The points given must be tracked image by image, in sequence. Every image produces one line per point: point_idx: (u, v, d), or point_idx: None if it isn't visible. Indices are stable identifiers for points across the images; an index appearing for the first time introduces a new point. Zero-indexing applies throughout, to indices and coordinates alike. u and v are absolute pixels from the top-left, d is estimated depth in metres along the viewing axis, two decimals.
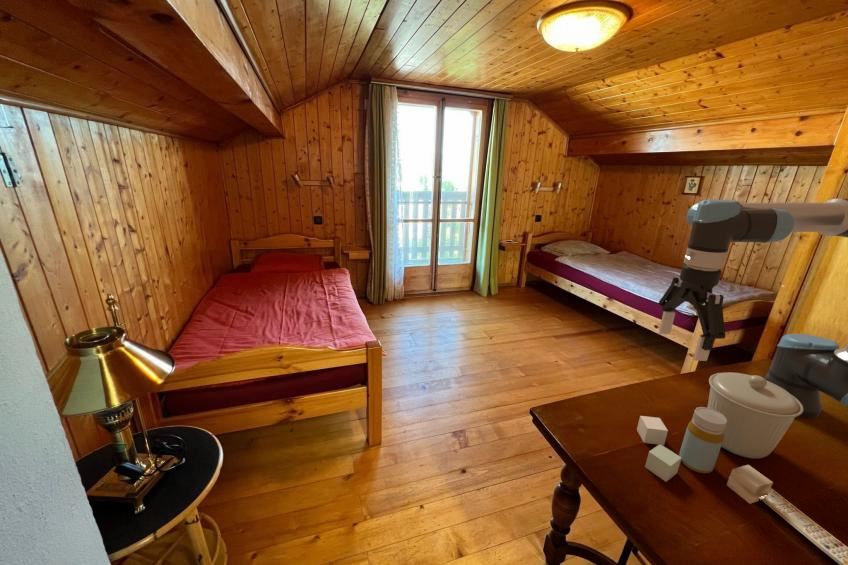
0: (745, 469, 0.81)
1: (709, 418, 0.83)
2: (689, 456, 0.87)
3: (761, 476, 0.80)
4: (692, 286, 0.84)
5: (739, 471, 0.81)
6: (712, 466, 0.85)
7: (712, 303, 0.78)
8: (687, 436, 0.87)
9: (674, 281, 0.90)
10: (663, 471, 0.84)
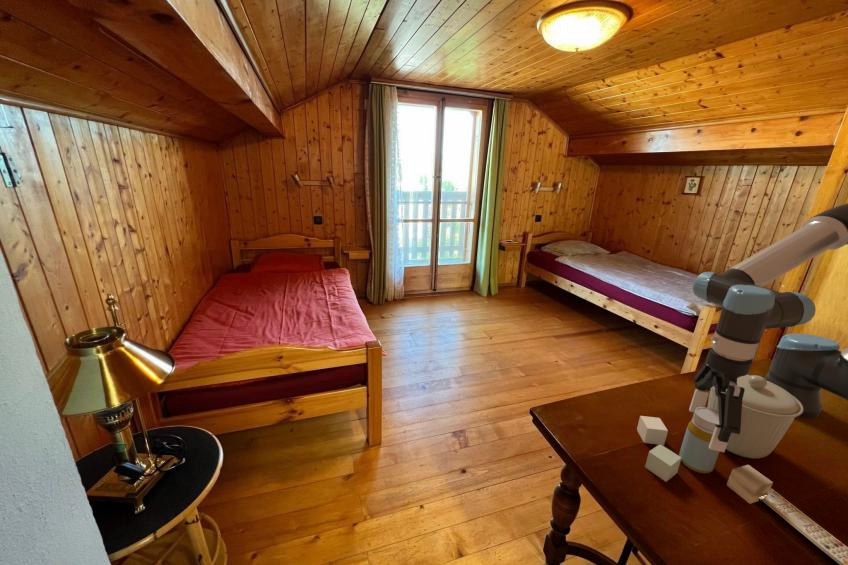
0: (745, 469, 0.81)
1: (709, 418, 0.83)
2: (689, 456, 0.87)
3: (761, 476, 0.80)
4: (718, 371, 0.80)
5: (739, 471, 0.81)
6: (712, 466, 0.85)
7: (730, 394, 0.75)
8: (687, 436, 0.87)
9: None
10: (663, 471, 0.84)
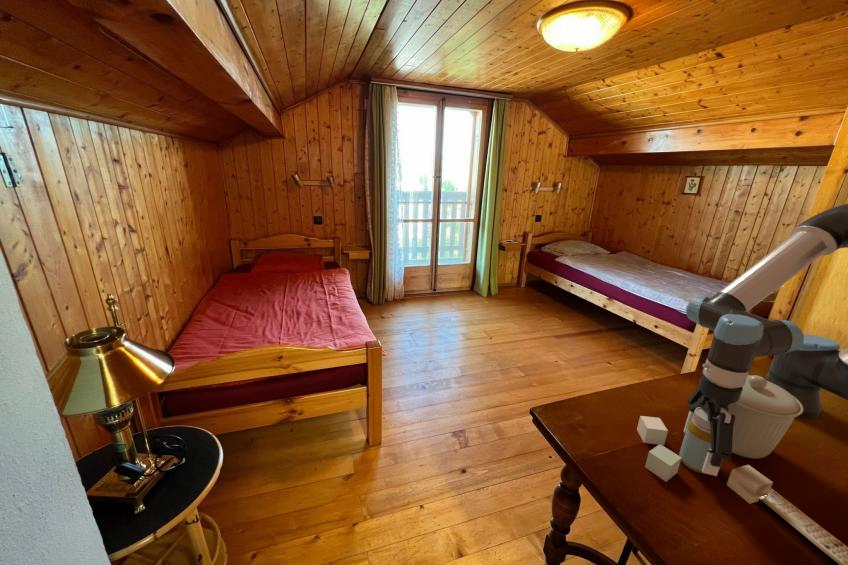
0: (745, 469, 0.81)
1: None
2: (689, 456, 0.87)
3: (761, 476, 0.80)
4: None
5: (739, 471, 0.81)
6: None
7: (721, 421, 0.77)
8: (687, 436, 0.87)
9: None
10: (663, 471, 0.84)
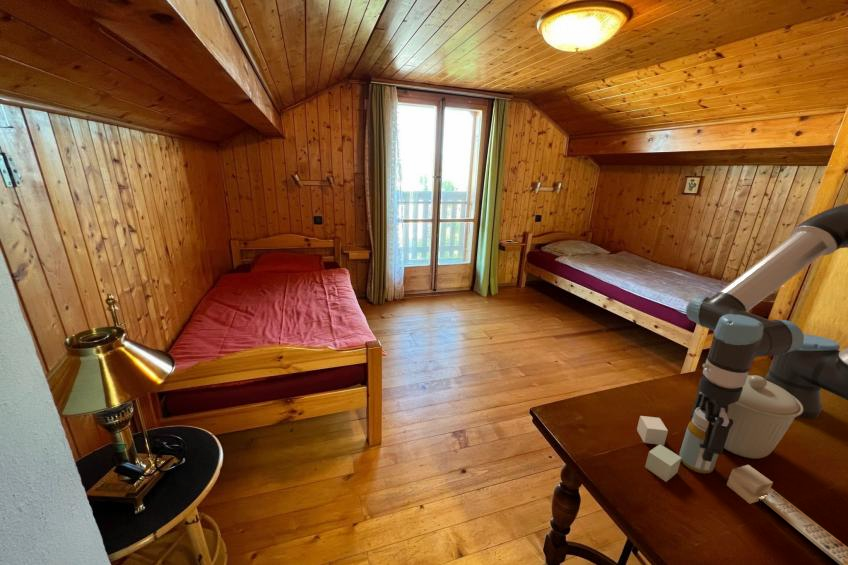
0: (745, 469, 0.81)
1: None
2: (689, 456, 0.87)
3: (761, 476, 0.80)
4: None
5: (739, 471, 0.81)
6: (712, 466, 0.85)
7: (718, 425, 0.78)
8: (687, 436, 0.87)
9: (699, 389, 0.89)
10: (663, 471, 0.84)
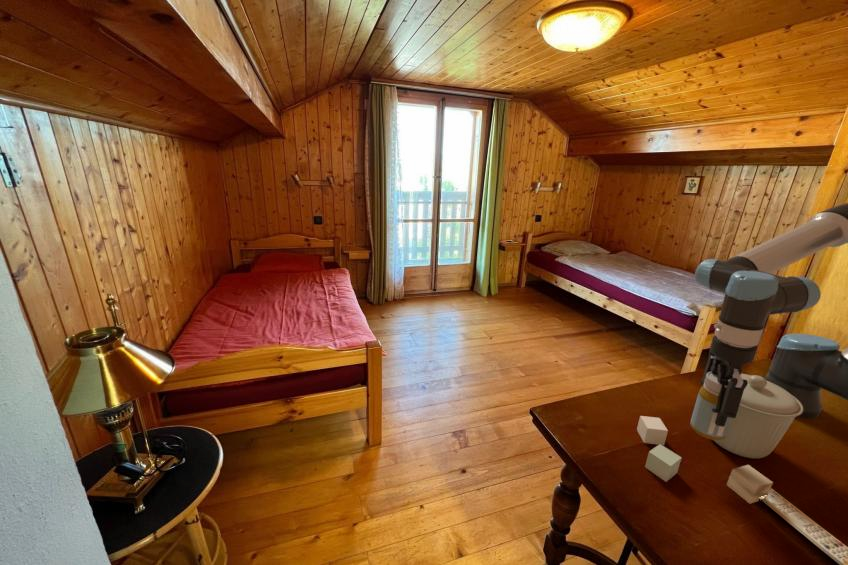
0: (745, 469, 0.81)
1: None
2: (701, 422, 0.83)
3: (761, 476, 0.80)
4: (723, 359, 0.79)
5: (739, 471, 0.81)
6: (725, 432, 0.82)
7: (731, 386, 0.75)
8: (698, 402, 0.84)
9: (710, 354, 0.85)
10: (663, 471, 0.84)
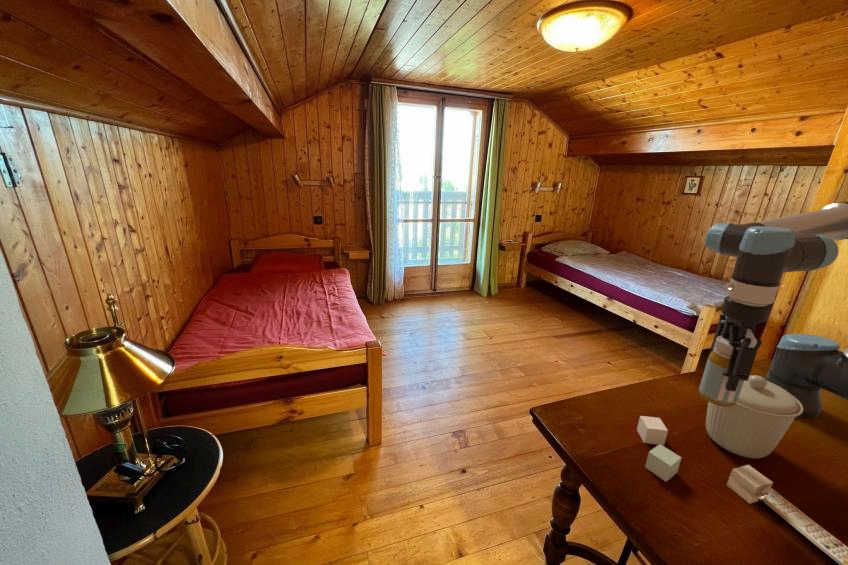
0: (745, 469, 0.81)
1: None
2: (710, 388, 0.80)
3: (761, 476, 0.80)
4: (735, 320, 0.76)
5: (739, 471, 0.81)
6: (736, 398, 0.79)
7: (744, 346, 0.72)
8: (708, 367, 0.81)
9: (720, 318, 0.82)
10: (663, 471, 0.84)
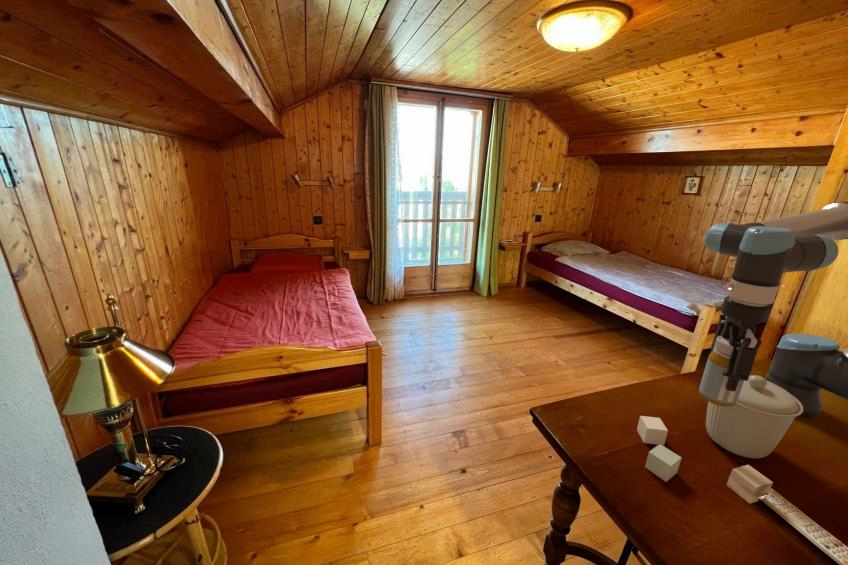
0: (745, 469, 0.81)
1: None
2: (710, 388, 0.80)
3: (761, 476, 0.80)
4: (735, 320, 0.76)
5: (739, 471, 0.81)
6: (736, 398, 0.79)
7: (744, 346, 0.72)
8: (708, 367, 0.81)
9: (720, 318, 0.82)
10: (663, 471, 0.84)
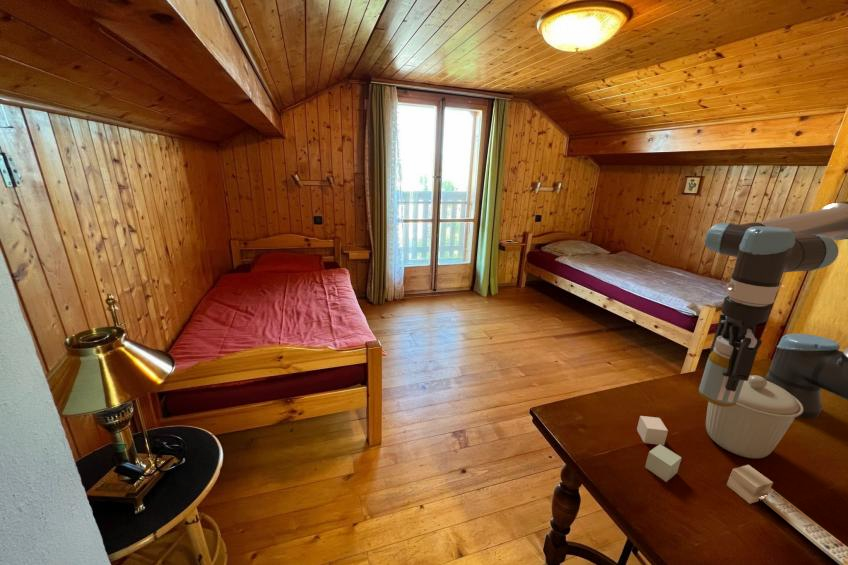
0: (745, 469, 0.81)
1: None
2: (710, 388, 0.80)
3: (761, 476, 0.80)
4: (735, 320, 0.76)
5: (739, 471, 0.81)
6: (736, 398, 0.79)
7: (744, 346, 0.72)
8: (708, 367, 0.81)
9: (720, 318, 0.82)
10: (663, 471, 0.84)
